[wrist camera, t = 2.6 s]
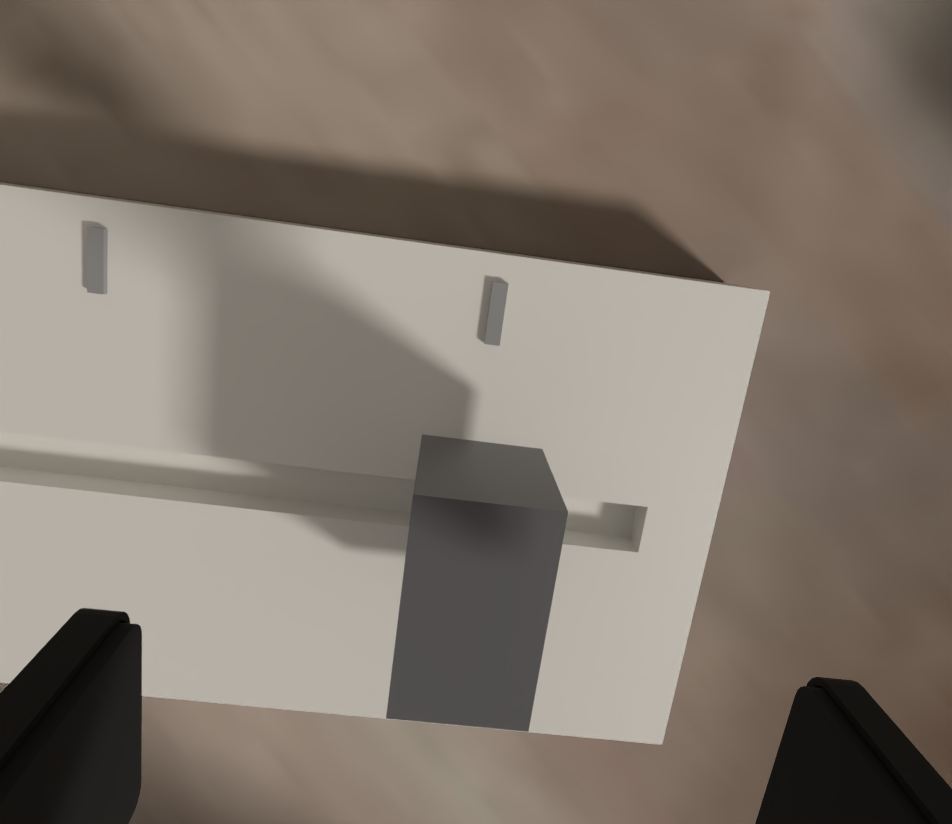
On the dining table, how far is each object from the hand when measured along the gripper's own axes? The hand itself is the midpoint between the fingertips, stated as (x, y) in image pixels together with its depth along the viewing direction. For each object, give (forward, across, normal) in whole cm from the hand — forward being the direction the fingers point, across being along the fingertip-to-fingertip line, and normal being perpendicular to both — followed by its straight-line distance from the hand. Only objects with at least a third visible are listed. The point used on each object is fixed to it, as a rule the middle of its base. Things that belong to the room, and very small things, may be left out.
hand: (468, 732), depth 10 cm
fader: (+10, 0, +1) cm, 10 cm away
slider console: (+13, +10, +1) cm, 16 cm away
